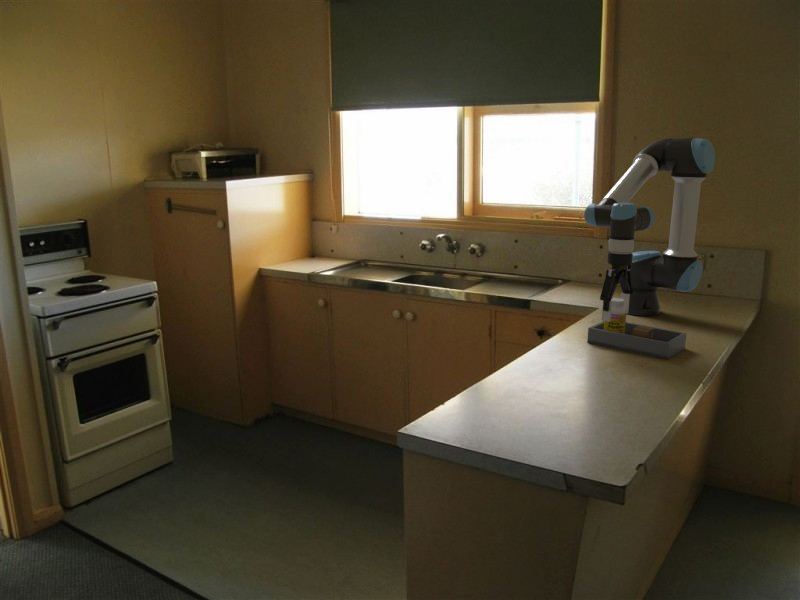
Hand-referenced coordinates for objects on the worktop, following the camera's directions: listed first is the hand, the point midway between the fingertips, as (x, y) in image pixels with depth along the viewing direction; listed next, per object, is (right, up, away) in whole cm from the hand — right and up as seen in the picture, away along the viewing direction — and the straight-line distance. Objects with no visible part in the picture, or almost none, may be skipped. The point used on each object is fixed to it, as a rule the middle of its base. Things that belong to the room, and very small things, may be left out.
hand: (615, 316), depth 227 cm
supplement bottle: (0, -7, +2) cm, 7 cm away
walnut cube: (+7, -8, -4) cm, 12 cm away
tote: (+6, -9, -3) cm, 11 cm away
